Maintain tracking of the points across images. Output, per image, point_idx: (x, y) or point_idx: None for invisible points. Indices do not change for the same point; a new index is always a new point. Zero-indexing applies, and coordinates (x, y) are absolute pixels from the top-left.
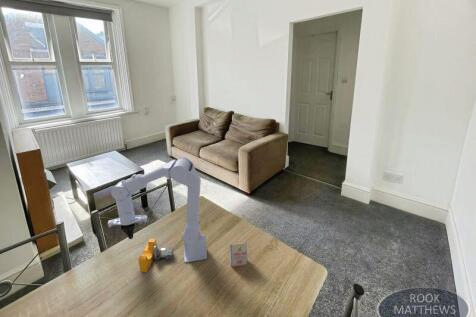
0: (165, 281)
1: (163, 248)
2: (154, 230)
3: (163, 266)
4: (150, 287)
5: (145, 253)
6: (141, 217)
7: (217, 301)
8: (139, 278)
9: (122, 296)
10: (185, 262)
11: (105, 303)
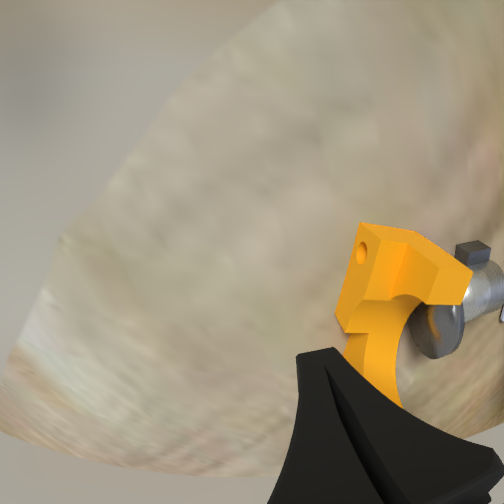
0: (424, 397)
1: (476, 304)
2: (364, 2)
3: None
4: None
5: (371, 310)
6: None
7: (500, 412)
8: None
9: (283, 450)
10: (501, 319)
11: (233, 464)
